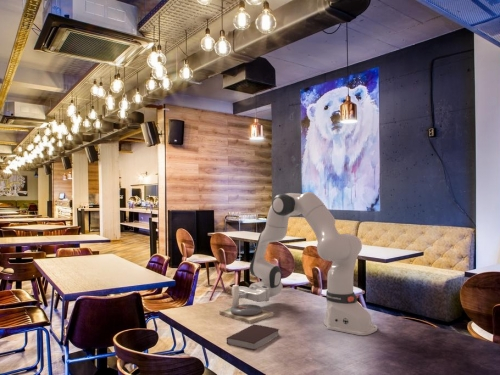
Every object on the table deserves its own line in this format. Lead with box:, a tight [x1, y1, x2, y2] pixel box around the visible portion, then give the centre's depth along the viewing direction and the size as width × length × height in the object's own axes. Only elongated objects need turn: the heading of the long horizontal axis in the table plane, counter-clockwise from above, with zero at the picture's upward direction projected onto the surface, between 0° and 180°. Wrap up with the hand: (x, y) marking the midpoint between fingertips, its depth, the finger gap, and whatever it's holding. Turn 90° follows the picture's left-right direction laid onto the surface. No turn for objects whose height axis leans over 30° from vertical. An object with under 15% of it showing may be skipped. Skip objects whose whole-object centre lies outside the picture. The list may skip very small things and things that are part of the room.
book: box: [226, 323, 280, 351], centre depth 150 cm, size 12×19×3 cm, turn 147°
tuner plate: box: [219, 307, 274, 324], centre depth 181 cm, size 20×16×2 cm
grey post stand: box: [228, 284, 263, 315], centre depth 182 cm, size 17×15×11 cm
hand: (236, 296), depth 186 cm, fingers closed
